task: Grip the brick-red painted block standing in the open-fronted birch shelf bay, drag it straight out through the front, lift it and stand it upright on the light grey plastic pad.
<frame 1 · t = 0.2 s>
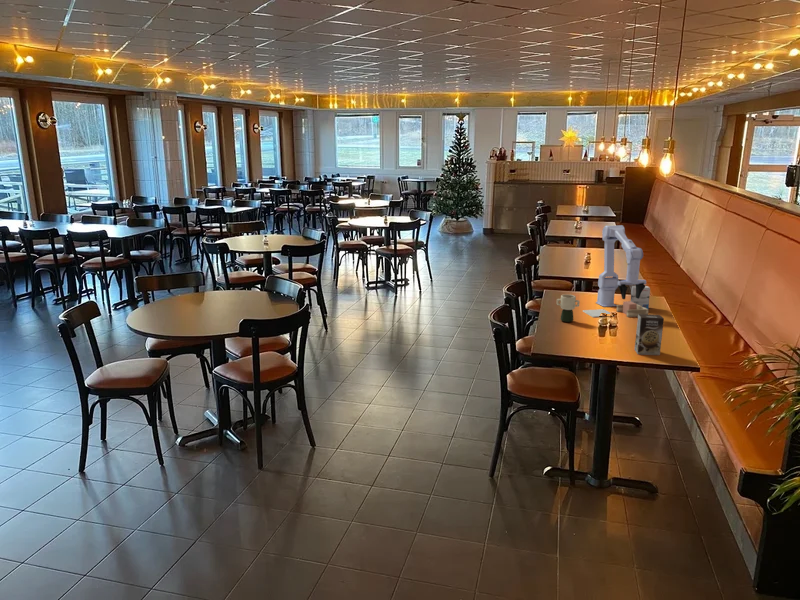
hand: (630, 298, 304), 10 cm above the table, fingers open, 7 cm apart
shelf bay: (630, 313, 312), on the table
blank: (628, 313, 312), on the table
pad: (598, 313, 313), on the table
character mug: (566, 321, 300), on the table
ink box: (639, 308, 324), on the table
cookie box: (647, 353, 253), on the table
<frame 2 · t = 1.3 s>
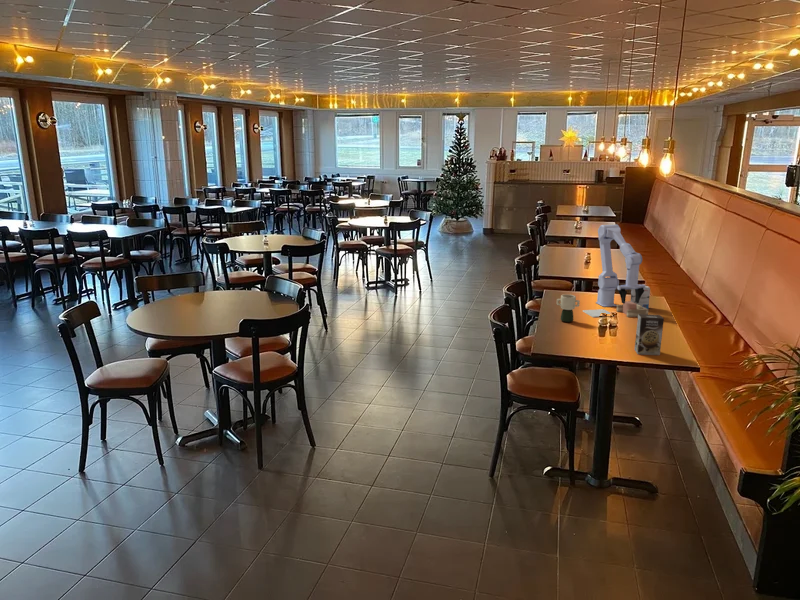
hand: (630, 302, 311), 6 cm above the table, fingers open, 7 cm apart
nothing on the table moved.
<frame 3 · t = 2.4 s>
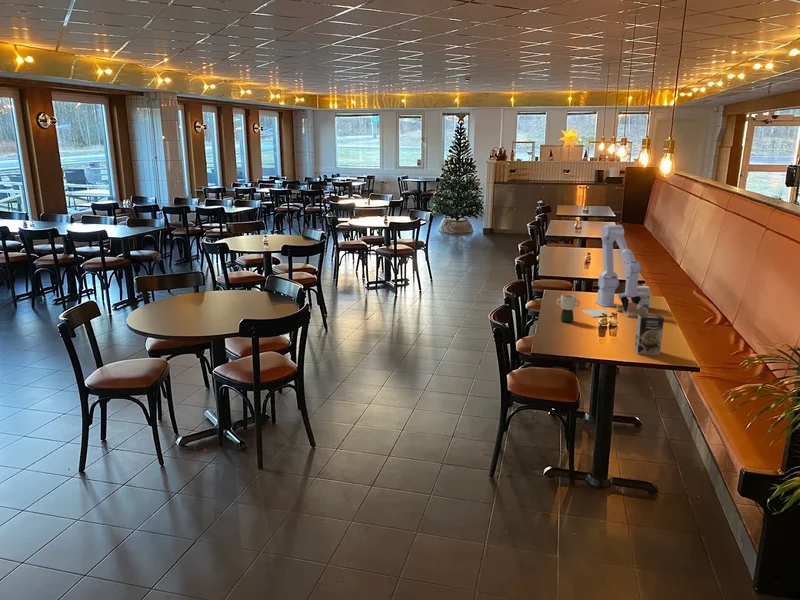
hand: (629, 310, 312), 2 cm above the table, fingers closed on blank, 4 cm apart
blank: (629, 313, 312), on the table, touching gripper
everything else where it was.
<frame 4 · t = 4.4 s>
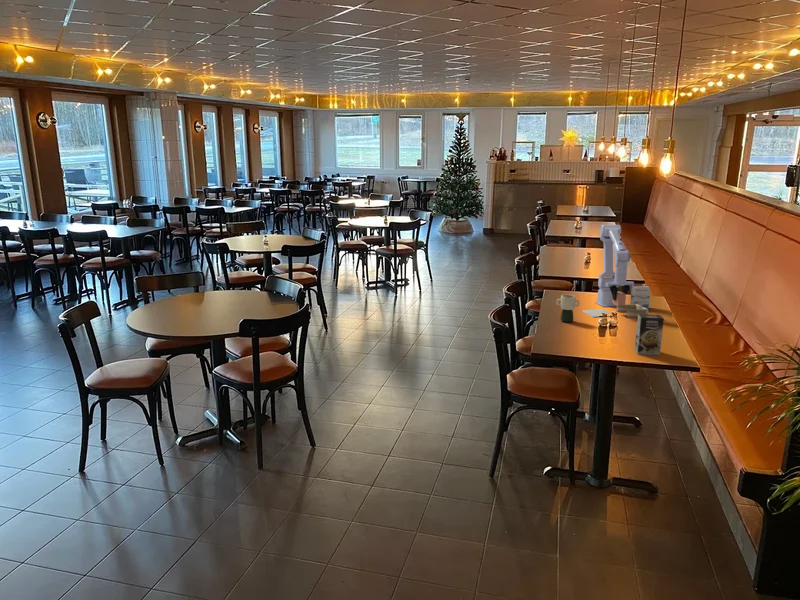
hand: (618, 299, 309), 8 cm above the table, fingers closed on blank, 4 cm apart
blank: (618, 304, 310), point 6 cm above the table, touching gripper
everything else where it was.
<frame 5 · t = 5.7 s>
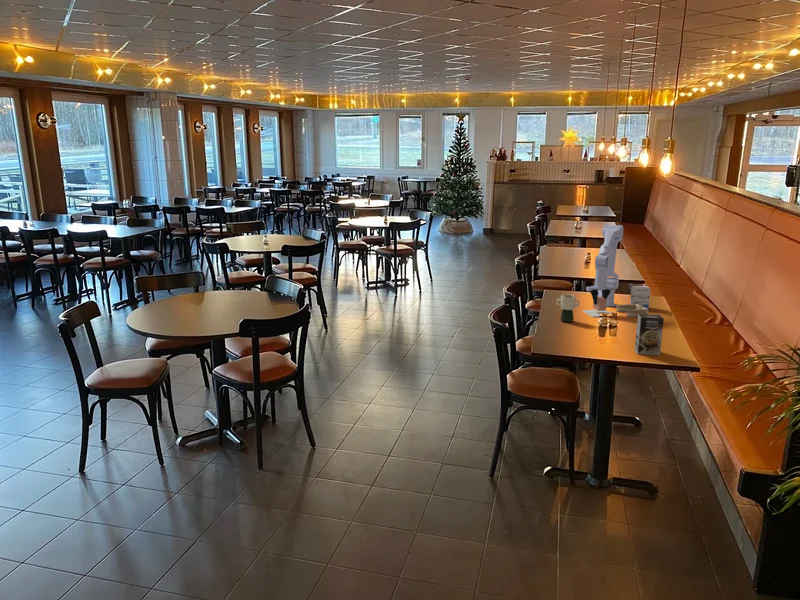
hand: (599, 303, 311), 5 cm above the table, fingers closed on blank, 4 cm apart
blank: (599, 309, 312), point 3 cm above the table, touching gripper
everything else where it was.
when the fingers open (3 cm above the table, at t = 6.6 s): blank stays where it is, resting on pad.
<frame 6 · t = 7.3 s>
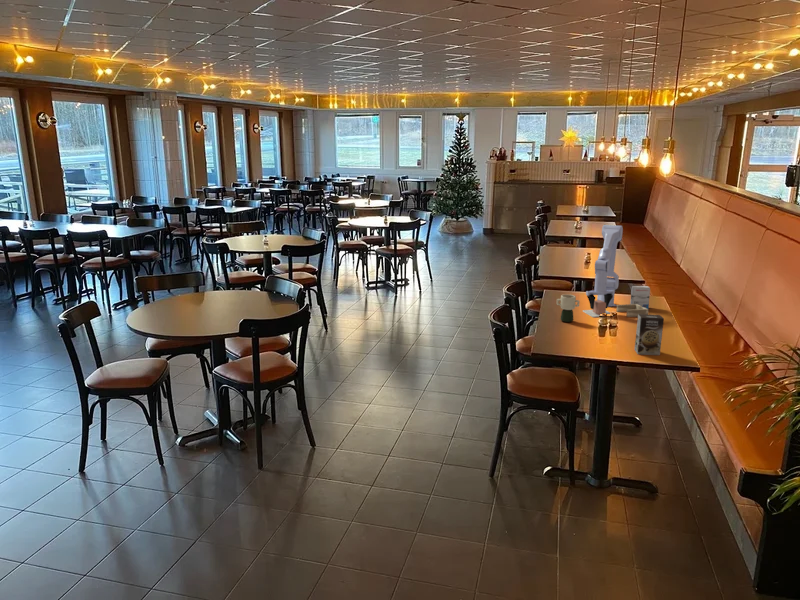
hand: (598, 308, 312), 3 cm above the table, fingers open, 7 cm apart
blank: (598, 312, 312), point 1 cm above the table, touching pad
everything else where it was.
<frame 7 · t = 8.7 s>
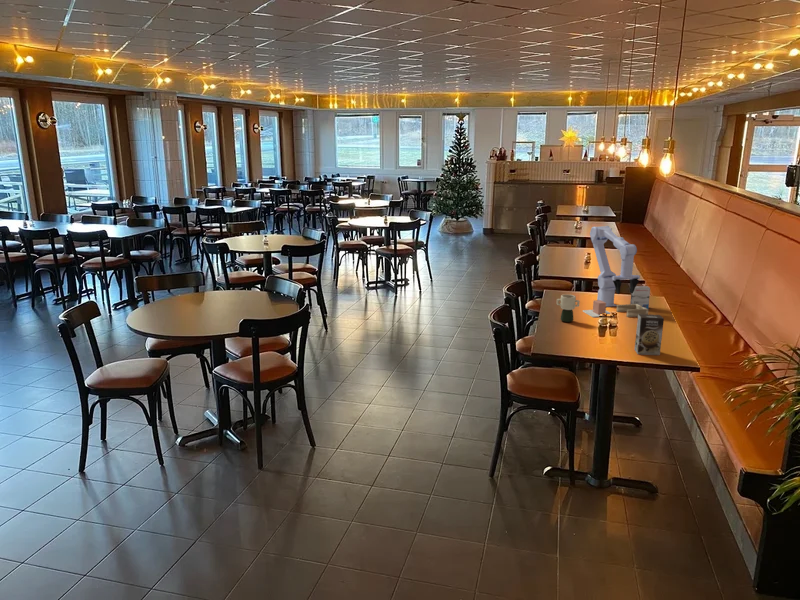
hand: (624, 293, 314), 10 cm above the table, fingers open, 7 cm apart
nothing on the table moved.
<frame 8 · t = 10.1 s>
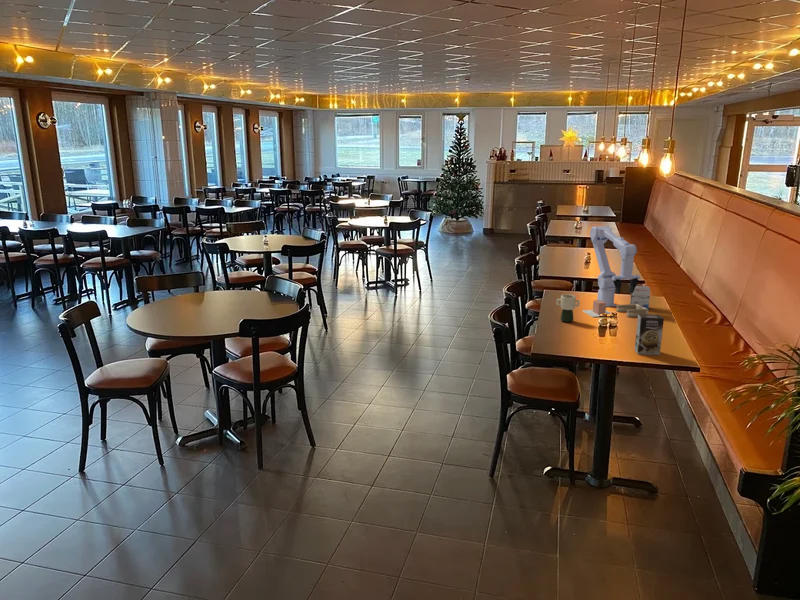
hand: (624, 293, 314), 10 cm above the table, fingers open, 7 cm apart
nothing on the table moved.
at the end: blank inside the target area on the pad (0.4 cm from its centre), point 0.6 cm above the pad's base; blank tilted 0°; the gripper is holding nothing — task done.
